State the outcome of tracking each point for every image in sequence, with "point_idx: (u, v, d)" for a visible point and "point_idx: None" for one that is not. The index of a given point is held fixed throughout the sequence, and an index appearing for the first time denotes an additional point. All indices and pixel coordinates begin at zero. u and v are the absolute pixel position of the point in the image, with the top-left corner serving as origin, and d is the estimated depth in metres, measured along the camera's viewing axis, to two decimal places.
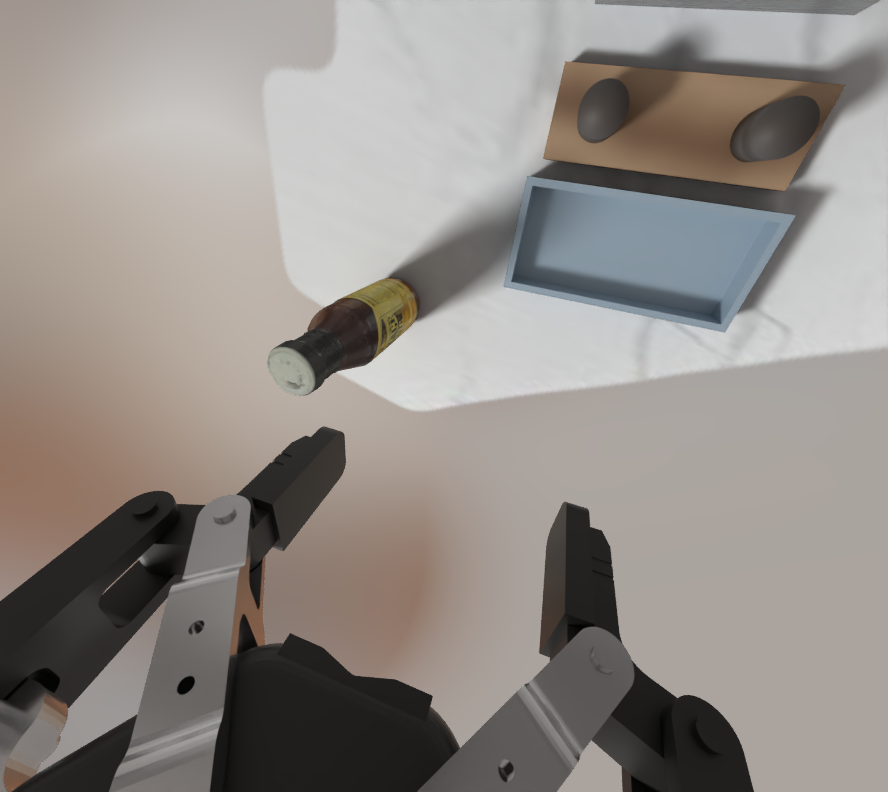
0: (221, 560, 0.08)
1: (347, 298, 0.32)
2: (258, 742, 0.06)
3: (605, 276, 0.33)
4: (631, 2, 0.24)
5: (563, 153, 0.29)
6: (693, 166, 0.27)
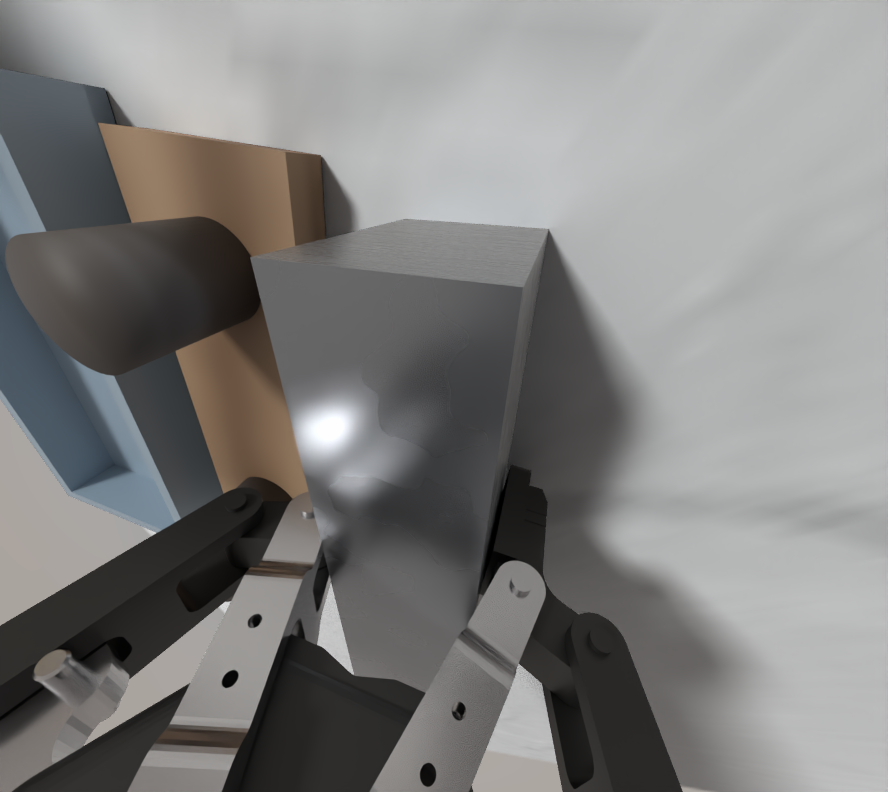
0: (295, 555, 0.08)
1: None
2: (274, 771, 0.06)
3: None
4: None
5: (132, 189, 0.10)
6: (217, 439, 0.16)
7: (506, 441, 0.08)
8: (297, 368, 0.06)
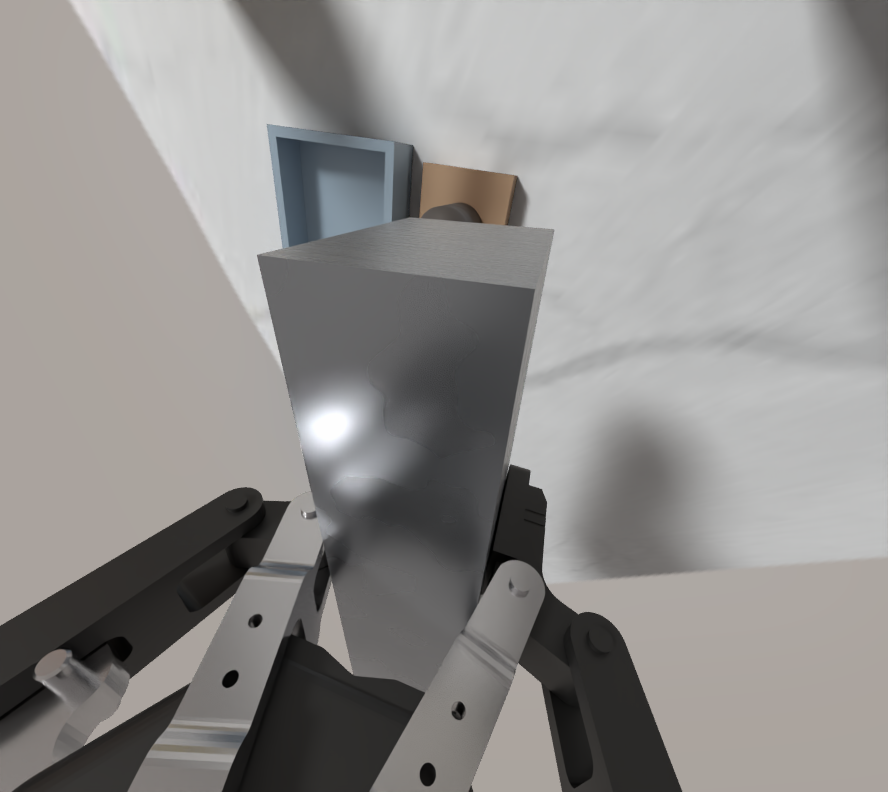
0: (295, 556, 0.08)
1: None
2: (273, 771, 0.06)
3: None
4: None
5: (428, 190, 0.24)
6: None
7: (510, 442, 0.08)
8: (302, 368, 0.06)
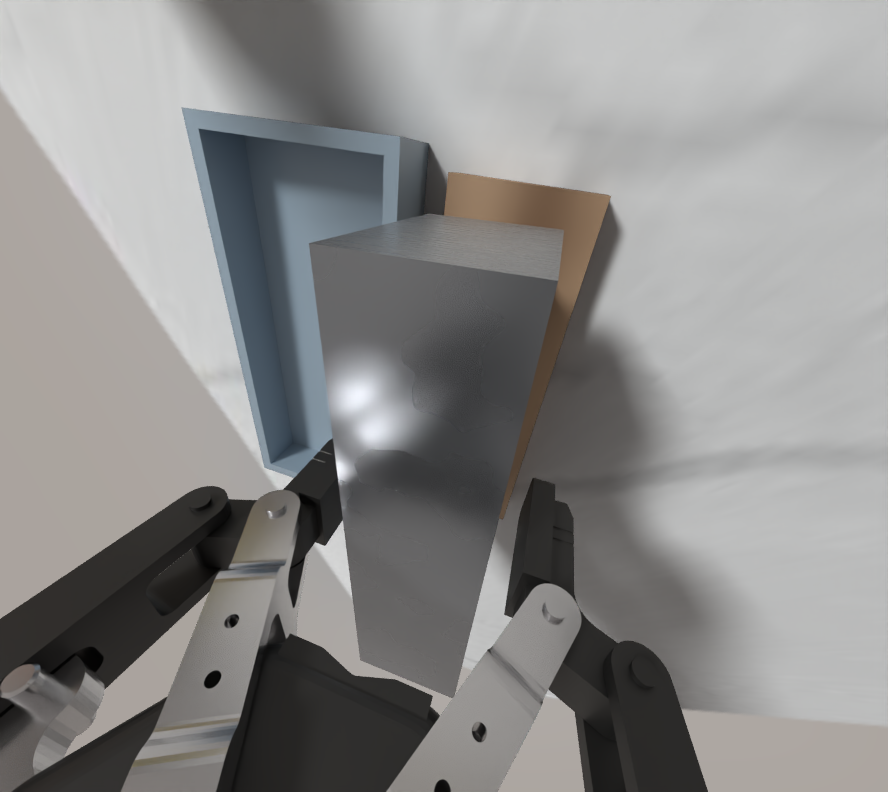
0: (265, 555, 0.08)
1: None
2: (268, 757, 0.06)
3: (296, 319, 0.20)
4: None
5: None
6: None
7: None
8: (340, 347, 0.07)
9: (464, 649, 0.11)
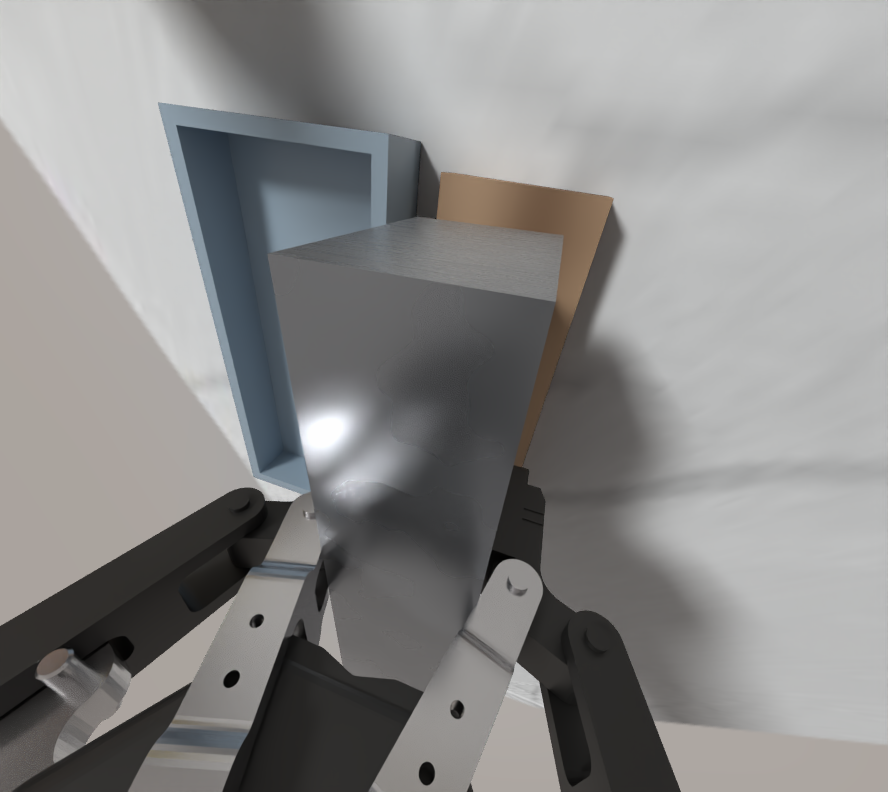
0: (297, 556, 0.08)
1: None
2: (274, 772, 0.06)
3: None
4: None
5: None
6: None
7: None
8: (309, 370, 0.06)
9: None
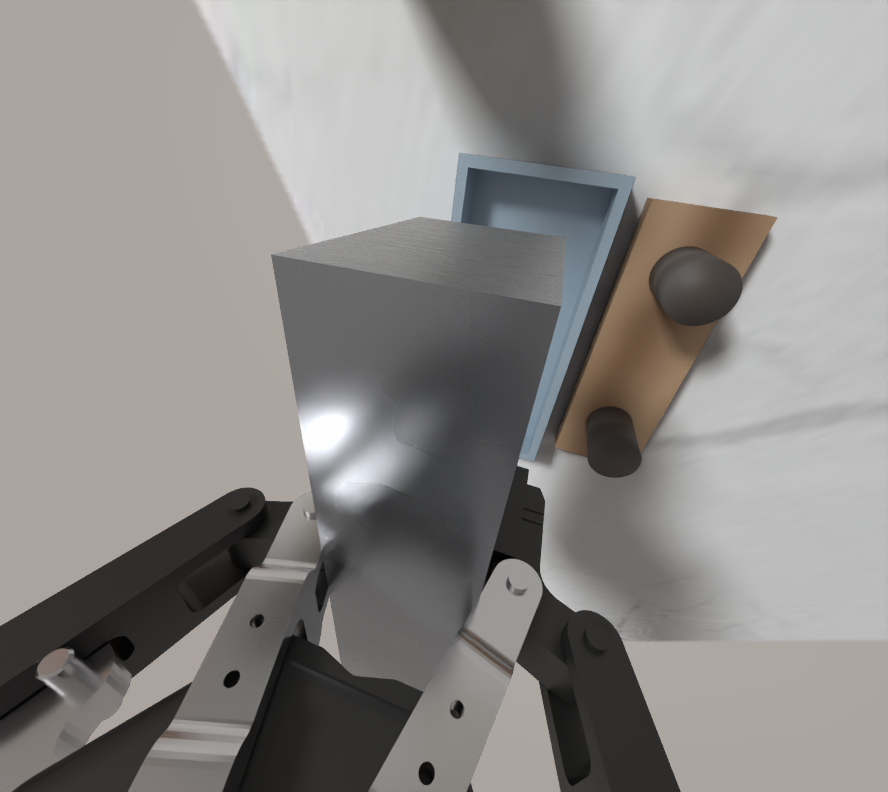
0: (297, 556, 0.08)
1: None
2: (274, 772, 0.06)
3: None
4: None
5: (649, 231, 0.20)
6: (592, 381, 0.25)
7: None
8: (312, 371, 0.06)
9: None
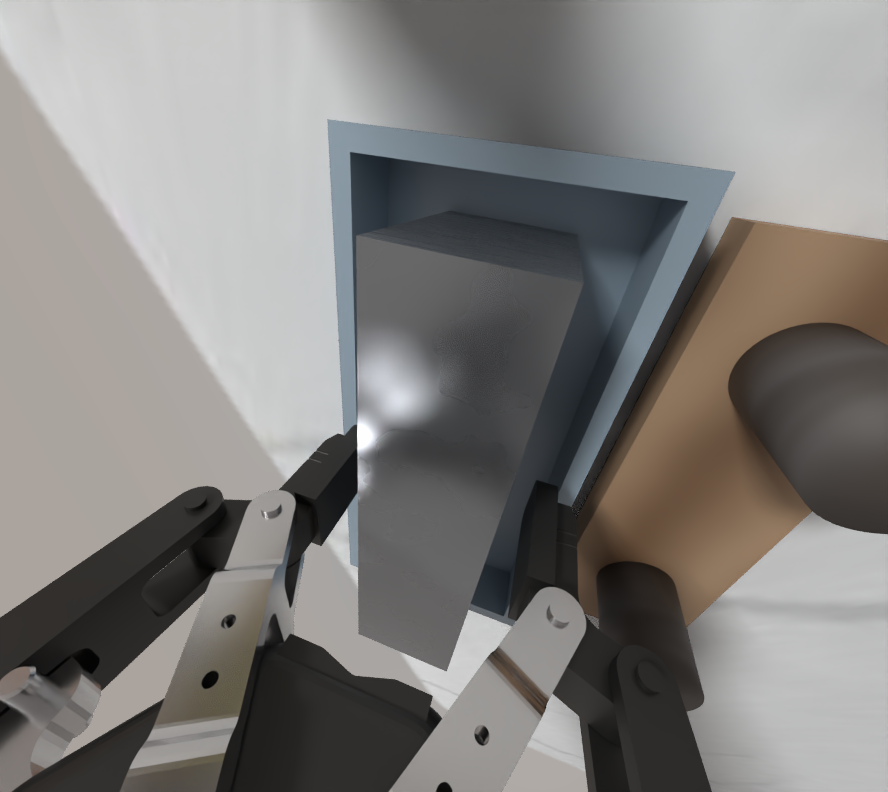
0: (261, 555, 0.08)
1: None
2: (267, 755, 0.06)
3: None
4: None
5: (740, 289, 0.09)
6: (609, 524, 0.15)
7: None
8: (375, 332, 0.07)
9: (462, 622, 0.12)
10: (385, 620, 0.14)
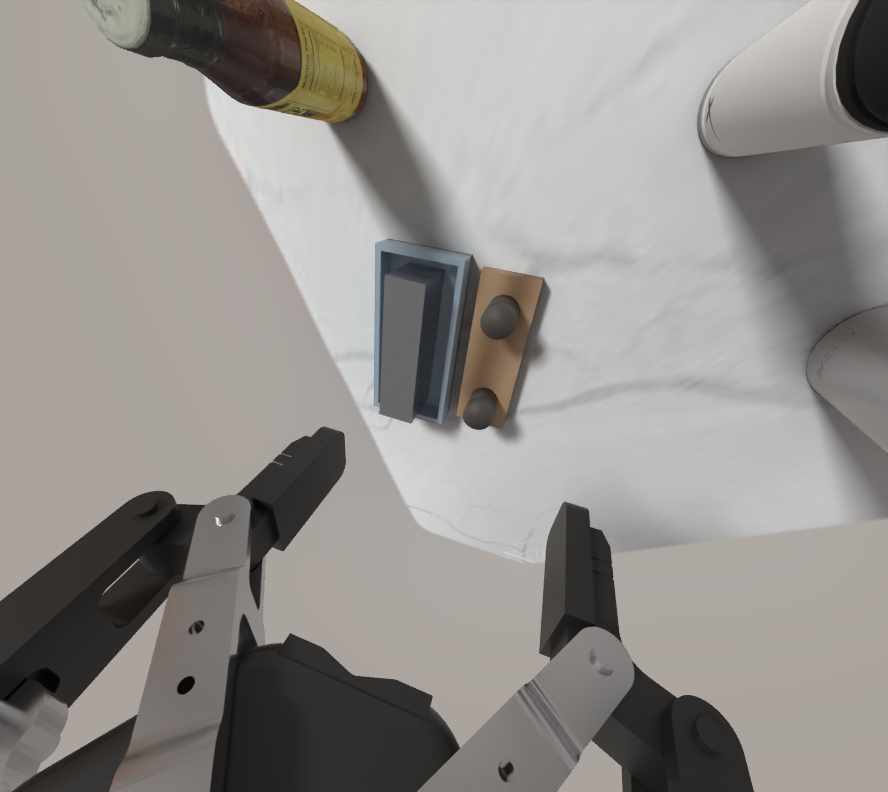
0: (221, 560, 0.08)
1: (297, 36, 0.22)
2: (258, 742, 0.06)
3: None
4: None
5: (483, 286, 0.35)
6: (470, 371, 0.40)
7: (428, 319, 0.35)
8: (388, 295, 0.33)
9: (414, 392, 0.38)
10: (389, 401, 0.40)
